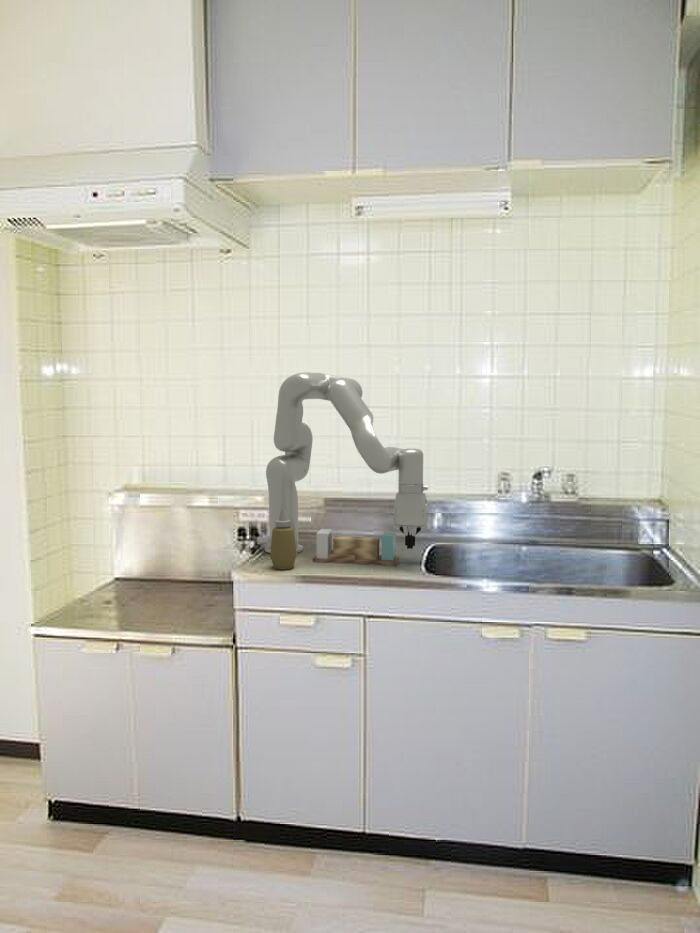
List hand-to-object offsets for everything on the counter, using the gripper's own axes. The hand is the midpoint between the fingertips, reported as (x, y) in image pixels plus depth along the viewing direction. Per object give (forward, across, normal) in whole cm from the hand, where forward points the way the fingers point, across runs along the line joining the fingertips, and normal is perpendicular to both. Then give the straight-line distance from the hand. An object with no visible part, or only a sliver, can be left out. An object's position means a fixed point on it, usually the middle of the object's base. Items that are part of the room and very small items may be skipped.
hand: (410, 547), depth 229 cm
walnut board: (+5, +17, 0) cm, 18 cm away
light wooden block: (+4, +17, 0) cm, 17 cm away
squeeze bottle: (+5, +37, +13) cm, 39 cm away
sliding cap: (+3, +7, 0) cm, 7 cm away
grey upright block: (+5, +27, 0) cm, 28 cm away
